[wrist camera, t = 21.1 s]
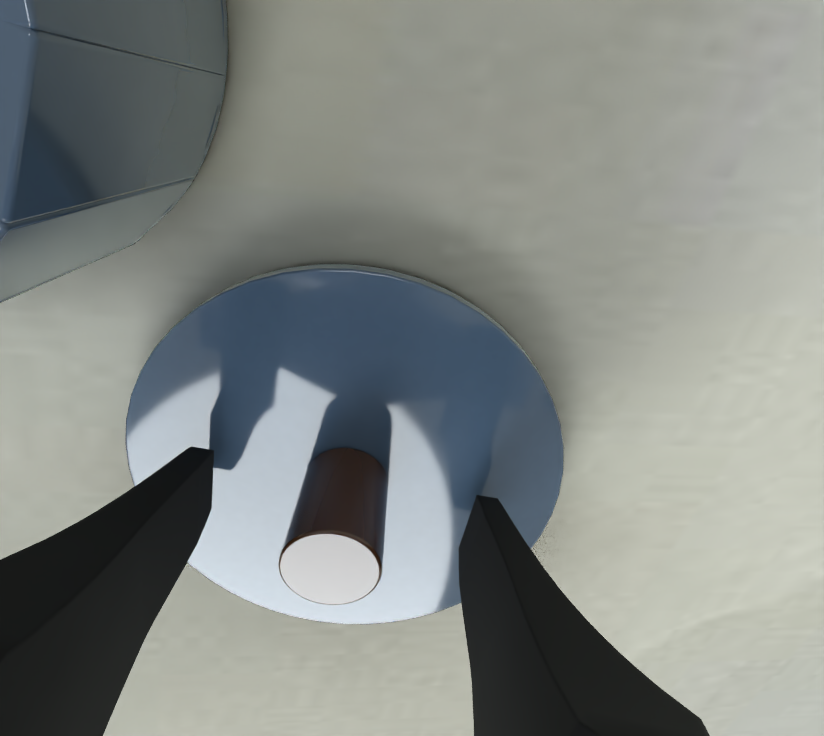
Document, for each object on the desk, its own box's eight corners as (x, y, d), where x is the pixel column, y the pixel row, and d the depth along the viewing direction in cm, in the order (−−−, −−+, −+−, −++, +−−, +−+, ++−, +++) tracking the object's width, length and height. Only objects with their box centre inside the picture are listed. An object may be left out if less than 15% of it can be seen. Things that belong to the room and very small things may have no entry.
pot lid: (434, 636, 19) (439, 767, 15) (103, 524, 17) (10, 647, 13) (640, 379, 14) (725, 476, 10) (214, 166, 12) (116, 188, 8)
